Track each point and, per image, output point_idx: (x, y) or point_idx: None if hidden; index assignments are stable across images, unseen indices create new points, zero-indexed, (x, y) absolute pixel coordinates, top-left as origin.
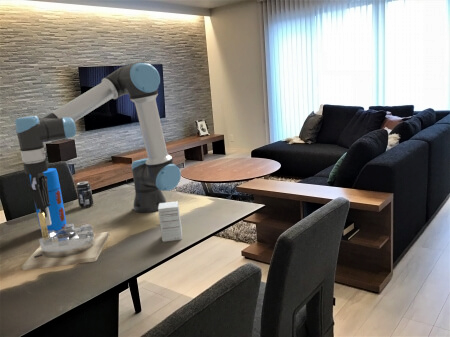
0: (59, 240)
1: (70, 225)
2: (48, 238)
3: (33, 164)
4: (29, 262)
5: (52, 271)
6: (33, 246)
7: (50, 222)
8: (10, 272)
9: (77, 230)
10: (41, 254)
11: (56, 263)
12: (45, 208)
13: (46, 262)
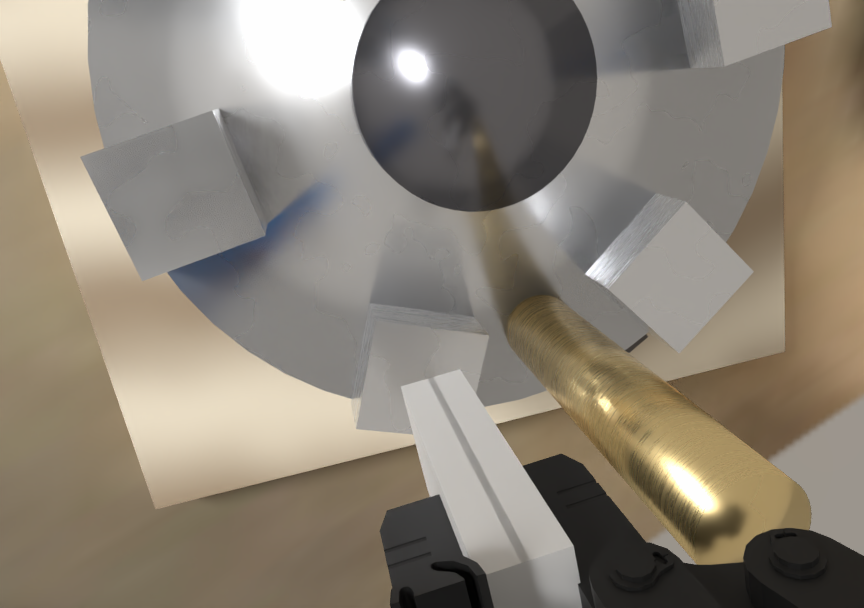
0: (796, 25)
1: (182, 162)
2: (682, 237)
3: None
4: (732, 325)
5: (852, 41)
6: (255, 565)
7: (446, 389)
8: (775, 415)
9: (243, 20)
10: None
11: None
12: (578, 573)
13: (773, 151)
